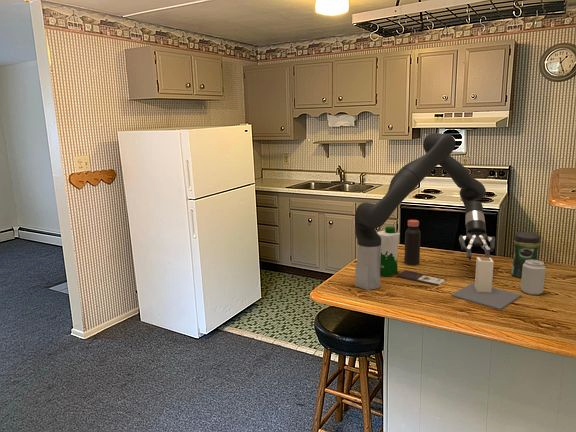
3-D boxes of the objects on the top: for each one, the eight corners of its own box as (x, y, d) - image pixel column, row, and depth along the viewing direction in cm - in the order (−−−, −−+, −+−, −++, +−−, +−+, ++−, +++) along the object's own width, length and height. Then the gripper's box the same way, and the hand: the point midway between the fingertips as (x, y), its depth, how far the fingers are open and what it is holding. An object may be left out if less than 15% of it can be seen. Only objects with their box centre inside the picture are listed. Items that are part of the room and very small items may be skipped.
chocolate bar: (405, 270, 191) (446, 278, 179) (405, 272, 191) (446, 281, 180) (395, 275, 184) (437, 285, 173) (395, 277, 184) (437, 287, 173)
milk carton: (400, 273, 188) (402, 228, 184) (386, 278, 183) (388, 231, 179) (384, 268, 195) (385, 225, 191) (370, 273, 189) (371, 228, 185)
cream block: (491, 292, 164) (493, 260, 161) (476, 291, 165) (479, 260, 162) (488, 287, 168) (490, 257, 166) (474, 286, 170) (476, 256, 167)
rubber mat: (500, 310, 149) (500, 308, 149) (450, 296, 163) (450, 294, 162) (521, 296, 161) (521, 294, 161) (473, 284, 174) (473, 282, 174)
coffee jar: (537, 274, 184) (541, 231, 180) (537, 280, 177) (541, 235, 173) (511, 271, 188) (515, 229, 185) (510, 277, 181) (514, 233, 178)
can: (531, 296, 160) (534, 265, 158) (515, 289, 168) (518, 259, 165) (547, 294, 162) (551, 263, 160) (531, 287, 169) (534, 257, 167)
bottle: (401, 262, 203) (402, 220, 199) (412, 260, 206) (413, 218, 202) (411, 266, 197) (413, 223, 193) (422, 264, 200) (424, 221, 196)
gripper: (458, 218, 183) (461, 254, 174) (495, 219, 180) (500, 255, 171) (456, 228, 189) (458, 262, 180) (492, 229, 186) (496, 264, 177)
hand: (478, 259), depth 175 cm, fingers open, 5 cm apart
